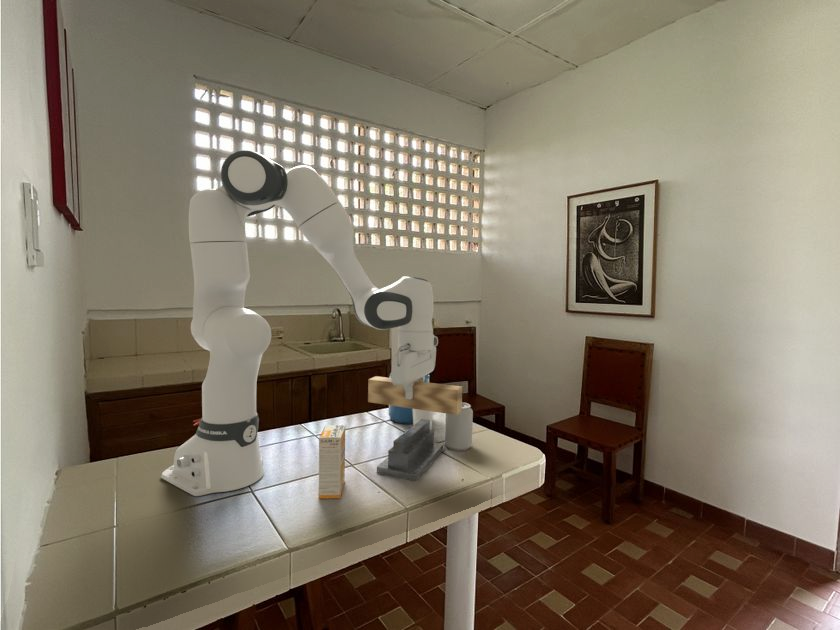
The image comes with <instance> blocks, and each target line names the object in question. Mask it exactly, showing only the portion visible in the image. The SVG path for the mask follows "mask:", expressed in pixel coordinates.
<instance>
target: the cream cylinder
mask: <svg viewBox="0 0 840 630" xmlns="http://www.w3.org/2000/svg"><path fill="white" fill-rule="evenodd" d="M412 411H413V424H412V426H413V425H415V424H416V423H417V422H419V421H420V420H421V419H425V420H430V429H432V427H433V420H434V419H433V417H434V412H433V411H426V410H419V409H412ZM432 430H433V429H432Z"/></svg>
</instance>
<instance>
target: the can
mask: <svg viewBox="0 0 840 630" xmlns="http://www.w3.org/2000/svg"><path fill="white" fill-rule="evenodd" d="M471 407H472V405H471V404H469V403H467V402H463V401H462V410H461V411H460V412H459V413H458V414H457V415H453V414H446V413H445V425H444V428H445V429H444V430H445V431H444V433H445V434H444V444H445V446H446V447H448V449H449V450H452V451H459V452H461V451H466V450H468V449H469V448H470V447H472V444H473V424H474V423H473V418H474V411H473V409H472V408H471Z"/></svg>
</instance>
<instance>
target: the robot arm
mask: <svg viewBox="0 0 840 630" xmlns="http://www.w3.org/2000/svg"><path fill="white" fill-rule="evenodd" d="M220 180H221V184H222V185H221V186H220V187H217V188H208V189H202V190H200V191H197V192H196V193H194V195H192V196H191V198H190V201H189V208H188V238H189V245H190V247H189V248H190V253H191V254H190V255H191V262H192V264H191V265H192V271H193V282H194V283H193V291H194V292H193V300H192V301H193V302H192V303H193V304H192V319H191V322H190V333H191V335H192V338H193V339H194V340H195V342H196V344H198V346H200V348H202V349H204V350H206V351H209V360H208V361H209V363H208V368H207V370H206V376H205V378H204V380H203V381H202V385H201V407H202V408H201V409H202V410H201V411H202V412H201V413H202V417H201V418H198V419H195V420H193V421H192V422H193V423H194V422H195V423H194V424H193V426H197V425H198V426H197V428H196V429H197V430H196V433H195V434H194V435H193V436H191V437H190V438H189V439H187V440H186V441H185V442H184V443H183V444H181V445H180V446H179V447H178V448H177V449H176V451H175V453H174V457H173V465H171V466H169V467H168V468H166V469H165V470H164V471H162V473H161V477H160V478H161V479H162V480H164V481H166V482H168V483H169V484H171V485H172V486H175V487H177V488H179V489H180V490H182V491H184V492H186V493H188V494H189V495H192V496H194V497H200V496H205V495H208V494H214V493H222V492H223V493H224V492H230V491H235V490H240V489H242V488H246V487H248V486H250V485H252V484H255V483H256V482H258V481H259V480H260V479H261V478H263V477H264V474H265V470H264V467H263V463H264V461H263V457H262V456H261V450H260V440H259V434H258V431H259V422H260V418H259V414H258V412H257V381H258V374H259V369H260V365H261V361H262V357H263V355H264V353H265V352H266V350H268V349H269V346H270V343H271V341H272V329H271V326H270V324H269V322H268V321H267V319H265V318H264V317H263V316H262V315H260V314H259V313H257V312H255V311H254V310H252V309H249V308H245V298H246V292H247V286H248V284H249V281H250V279H251V272H250V263H249V253H248V242H247V233H246V219H247V217H248V218H249V217H252V216H254V215H258V214H260V213H264V212H267V211H269V210H272V209H273V208H274V207H275V206H279V207H281V208H283V210H284V211H286V212H287V213H288V214H289V216H290V217H291V218H292V220H293V221H294V223H295V224H296V226H297V227H298V229H299V230H300V232H301V233H302V235H304V237H305V238H306V240H307V241H308V242H309V244H310V245H312V247H313V248H314V249H315V250H316V251H317V252H318V254H320V255H321V256H322V257H323V258H324V259H325V261H327V263H329V264H330V266H331V267H332V269H333V270H334V272H335V273H336V275H337V276H338V278H339V279H340V281H341V282H342V284H343V285H344V287H345V288H346V290H347V292H348V294H349V295H350V299H351V303H352V309H353V313H354V316H355V317H356V319H357V321H359V323H361V324H362V325H364V326H367V327H371V328H374V329H375V330H381V331H382V330H383V331H387V330H390V329H393V328H394V329H395V328H397V349H398V350H397V352H396V353H394V354H393V359H392V363H391V364H392V365H391V372H392V377H391V381H392V384H393V385H396V386H404V389H405V392H406V395H405V397H406V399H413V398H414V391H413V387H412V386H413V382H414V381H420V382H424V380H425V375H427V374H429V375H430V373H432V372H433V371H434V370H435V367H436V359H437V358H436V357H437V346H438V344H439V339H438V336H436V335H434V327H433V322H432V321H433V316H434V308H435V307H434V292H433V291H434V290H433V286H432V284H431V282H430V281H428V280H427V279H425V278H422V277H417V276H410V275H404V276H401V278H400V279H398V280H397V281H395V282H393V283H392V284H389V285H387V286H385V287H381V288H378V287H377V286H375V284H373V282H372V281H371V279H370V278H369V277H368V275H367V273H366V272H365V270H364V268H363V267H362V265H361V263H360V261H359V260H358V258H357V256H356V253H355V250H354V227H353V224H352V222H351V219H350V217H349V215H348V212H347V211H346V209H345V207H344V206H343V204H342V203H341V202H340V200H339V198H338V197H337V195H336V193H335V192H334V191H333V189H331V187H330V186H329V184H328V183H327V182H326V180H325V179H324V178H323V177H322V176H321V175H320V174H319V173H318V172H317V170H315V169H314V168H313V167H311V166H309V165H297V166H295V167H292V168H290V169H288V170H286V169H285V167H283V166H282V165H280V163H279V164H278V163H277V162H275V161H274V160H272V159H270V158H268V157H267V156H265V155H263V154H261V153H260V152H256V151H253V150H248V149H245V150H244V149H243V150H241V149H240V150H238V151H235V152H233V153H231V154H229V155H228V156H227V157H226V158H225V159H224V161H223V163H222V165H221V168H220Z"/></svg>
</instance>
